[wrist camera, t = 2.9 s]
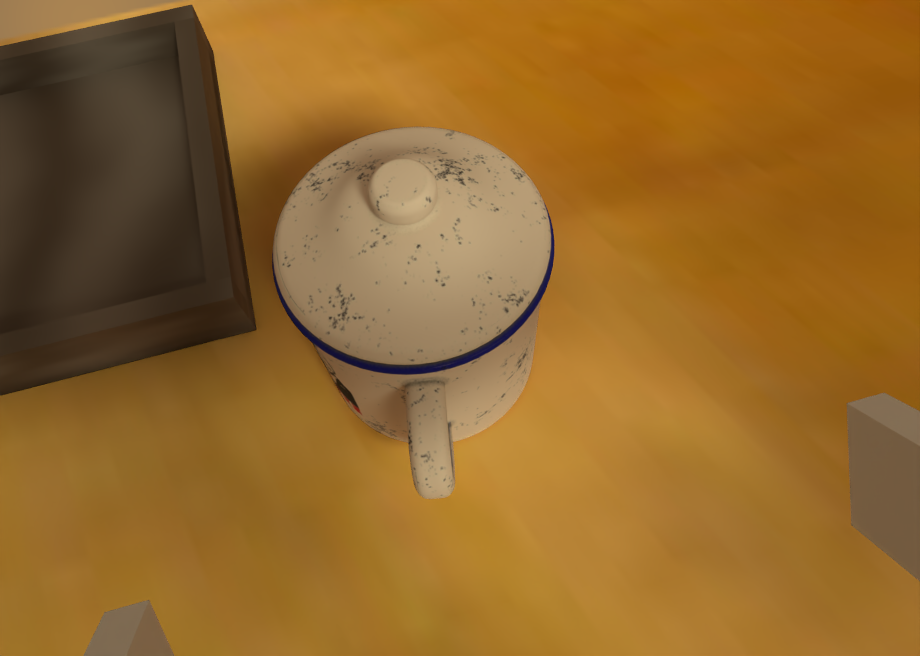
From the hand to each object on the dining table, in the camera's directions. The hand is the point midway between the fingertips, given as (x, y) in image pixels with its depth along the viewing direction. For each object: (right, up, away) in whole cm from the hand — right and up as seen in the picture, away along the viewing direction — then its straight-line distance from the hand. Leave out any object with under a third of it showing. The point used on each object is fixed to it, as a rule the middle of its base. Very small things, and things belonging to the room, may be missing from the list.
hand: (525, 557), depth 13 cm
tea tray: (-21, +10, +21) cm, 31 cm away
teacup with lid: (-2, +2, +17) cm, 17 cm away
